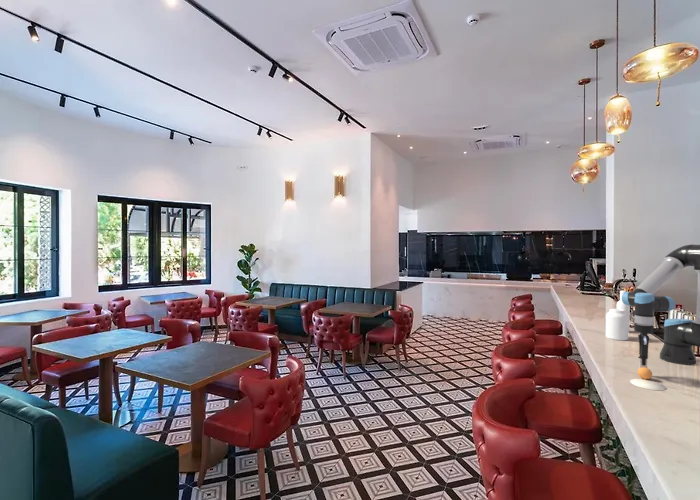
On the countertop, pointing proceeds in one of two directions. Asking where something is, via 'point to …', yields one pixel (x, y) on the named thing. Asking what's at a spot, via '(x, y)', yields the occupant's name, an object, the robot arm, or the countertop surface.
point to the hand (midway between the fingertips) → (643, 371)
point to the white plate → (647, 384)
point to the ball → (644, 373)
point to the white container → (617, 324)
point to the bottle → (624, 307)
